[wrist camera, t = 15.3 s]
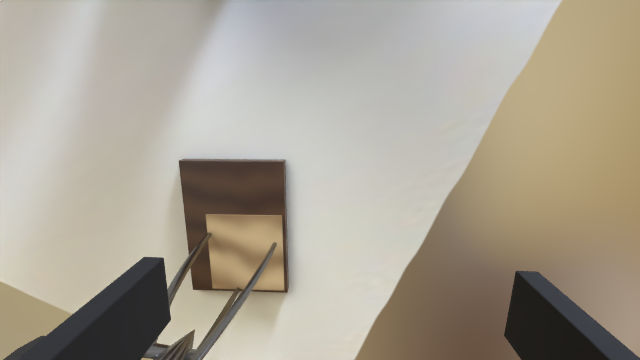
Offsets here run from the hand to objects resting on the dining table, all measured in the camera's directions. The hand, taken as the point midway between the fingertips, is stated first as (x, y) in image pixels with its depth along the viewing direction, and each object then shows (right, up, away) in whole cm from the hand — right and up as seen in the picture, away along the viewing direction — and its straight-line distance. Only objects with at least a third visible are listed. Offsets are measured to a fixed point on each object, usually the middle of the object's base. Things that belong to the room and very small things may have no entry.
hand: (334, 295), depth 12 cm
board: (-14, -3, +39) cm, 42 cm away
